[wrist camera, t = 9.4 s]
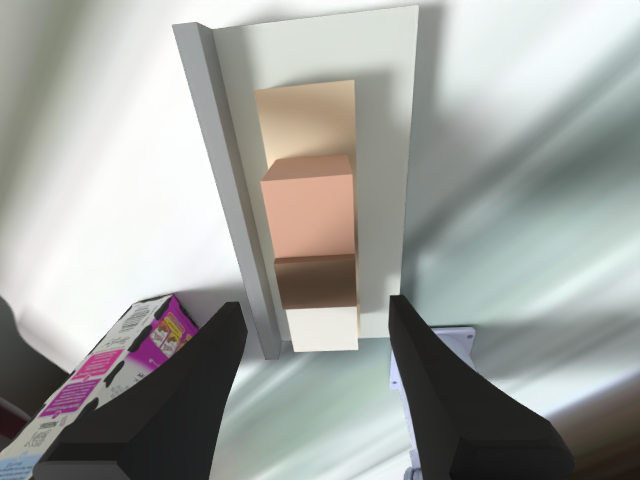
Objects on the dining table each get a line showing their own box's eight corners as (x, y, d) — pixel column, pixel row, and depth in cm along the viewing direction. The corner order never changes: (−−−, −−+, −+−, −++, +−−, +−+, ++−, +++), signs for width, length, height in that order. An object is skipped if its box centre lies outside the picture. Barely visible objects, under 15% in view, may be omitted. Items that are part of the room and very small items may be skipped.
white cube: (353, 304, 21) (358, 349, 17) (300, 307, 21) (294, 352, 17) (351, 260, 19) (356, 300, 15) (292, 263, 19) (284, 303, 15)
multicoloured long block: (357, 314, 24) (367, 391, 18) (301, 317, 25) (292, 393, 19) (351, 80, 16) (364, 77, 10) (264, 89, 16) (224, 92, 10)
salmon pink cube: (349, 219, 17) (354, 253, 14) (286, 223, 17) (275, 258, 14) (347, 153, 15) (352, 174, 12) (275, 159, 16) (260, 181, 12)
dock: (392, 320, 27) (401, 355, 24) (273, 325, 28) (265, 359, 25) (409, 13, 16) (431, -7, 12) (205, 37, 17) (171, 24, 13)
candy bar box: (130, 302, 27) (-89, 541, 13) (173, 291, 26) (-10, 534, 12) (189, 372, 32) (79, 598, 18) (227, 364, 32) (143, 596, 17)
